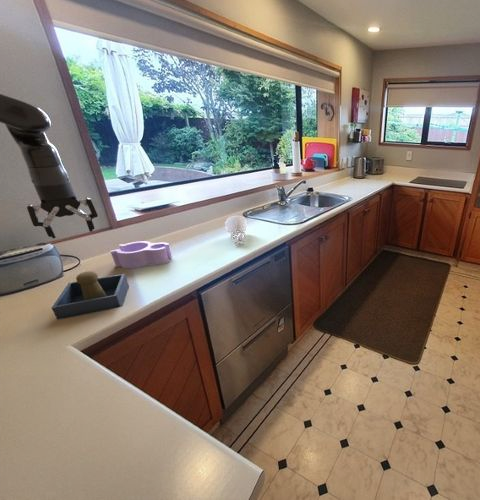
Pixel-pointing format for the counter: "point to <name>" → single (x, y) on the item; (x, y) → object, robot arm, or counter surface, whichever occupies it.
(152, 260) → the purple compartment tray
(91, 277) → the cork
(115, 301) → the tub
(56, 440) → the counter surface
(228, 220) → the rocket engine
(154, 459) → the counter surface
